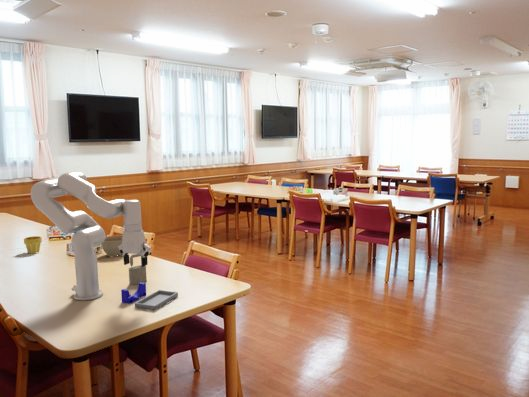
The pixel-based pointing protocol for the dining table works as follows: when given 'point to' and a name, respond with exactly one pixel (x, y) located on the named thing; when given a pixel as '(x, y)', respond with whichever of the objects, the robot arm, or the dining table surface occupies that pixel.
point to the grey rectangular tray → (156, 300)
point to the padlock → (137, 272)
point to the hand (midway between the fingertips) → (135, 264)
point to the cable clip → (135, 297)
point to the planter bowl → (112, 245)
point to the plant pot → (33, 243)
